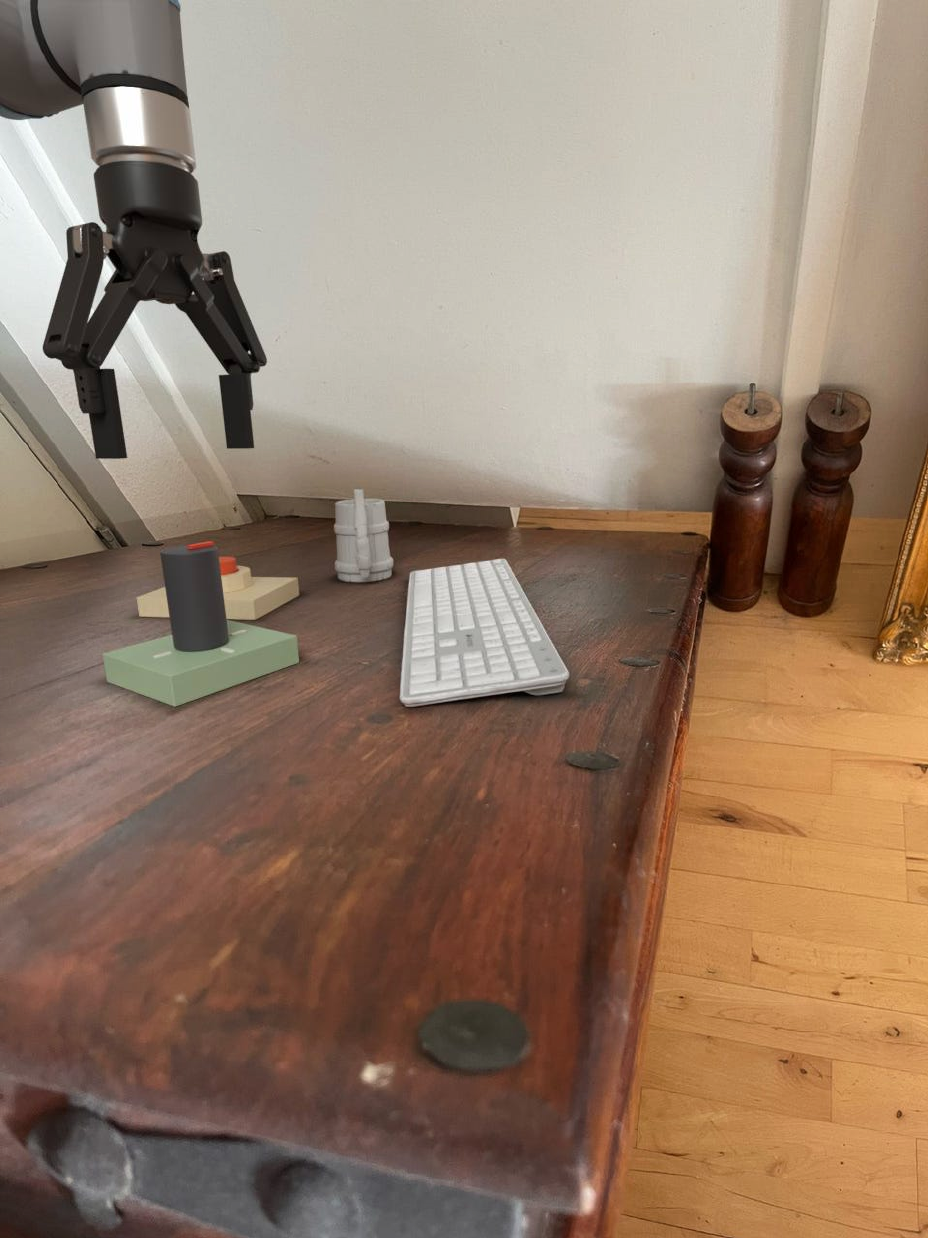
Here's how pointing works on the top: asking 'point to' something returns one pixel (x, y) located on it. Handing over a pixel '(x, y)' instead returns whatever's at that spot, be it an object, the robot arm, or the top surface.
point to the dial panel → (199, 664)
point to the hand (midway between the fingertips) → (181, 453)
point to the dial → (195, 596)
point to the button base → (234, 596)
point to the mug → (362, 539)
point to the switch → (227, 565)
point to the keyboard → (474, 637)
